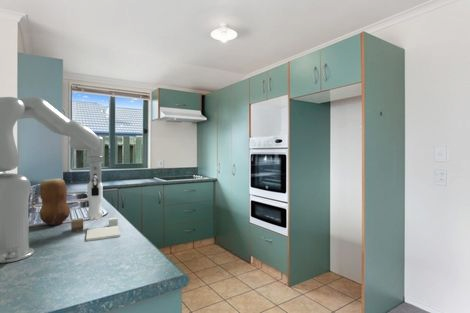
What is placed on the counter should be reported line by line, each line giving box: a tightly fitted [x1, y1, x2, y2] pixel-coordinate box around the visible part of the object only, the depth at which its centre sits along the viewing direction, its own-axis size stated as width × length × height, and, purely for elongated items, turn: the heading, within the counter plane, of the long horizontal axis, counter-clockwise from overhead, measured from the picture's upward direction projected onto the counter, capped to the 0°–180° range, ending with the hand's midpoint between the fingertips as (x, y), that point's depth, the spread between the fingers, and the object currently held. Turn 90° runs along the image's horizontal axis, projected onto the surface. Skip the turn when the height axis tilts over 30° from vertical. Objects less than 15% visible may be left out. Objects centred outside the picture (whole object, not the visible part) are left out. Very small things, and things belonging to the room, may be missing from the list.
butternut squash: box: [39, 178, 71, 226], centre depth 146 cm, size 14×13×25 cm
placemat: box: [85, 225, 121, 242], centre depth 130 cm, size 16×14×1 cm
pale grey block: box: [108, 217, 119, 227], centre depth 144 cm, size 4×4×4 cm
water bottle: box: [86, 180, 104, 221], centre depth 139 cm, size 7×7×25 cm
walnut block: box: [70, 218, 84, 233], centre depth 136 cm, size 5×5×5 cm
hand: (95, 194), depth 139 cm, fingers closed on water bottle, 7 cm apart
